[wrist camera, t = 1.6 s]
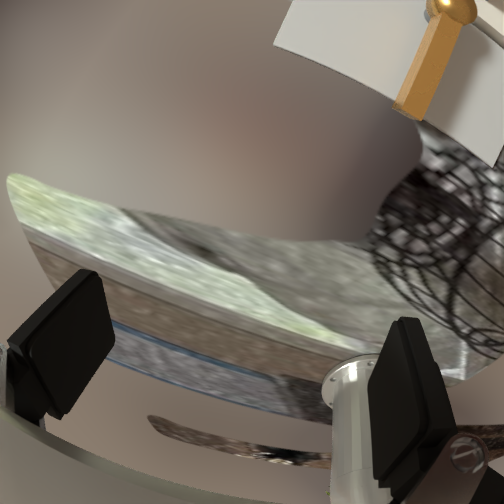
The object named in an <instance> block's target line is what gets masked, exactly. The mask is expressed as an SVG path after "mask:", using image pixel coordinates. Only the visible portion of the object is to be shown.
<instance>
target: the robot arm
mask: <svg viewBox="0 0 504 504" xmlns="http://www.w3.org/2000/svg"><path fill="white" fill-rule="evenodd" d="M7 342H8V344H9V346H10V348H9V349H8V350H7V349H6V347H5V346H4V345H3V344H2V343H0V504H280V503H272V502H264V501H257V500H250V499H244V498H239V497H234V496H229V495H223V494H218V493H214V492H209V491H205V490H201V489H196V488H192V487H189V486H185V485H181V484H178V483H174V482H171V481H167V480H164V479H161V478H157V477H154V476H151V475H148V474H145V473H142V472H139V471H136V470H133V469H130V468H128V467H125V466H123V465H120V464H117V463H115V462H112V461H110V460H107V459H105V458H102V457H100V456H97V455H95V454H93V453H91V452H88V451H86V450H84V449H82V448H79V447H77V446H75V445H73V444H71V443H69V442H67V441H65V440H63V439H61V438H59V437H57V436H55V435H53V434H51V433H49V432H47V431H46V428H45V421H44V415H45V413H46V412H47V413H48V414H49V415H50V416H53V417H54V418H56V419H58V420H61V419H62V417H63V416H64V414H68V413H69V412H70V410H71V408H72V407H73V406H74V404H75V402H76V401H77V399H78V398H79V396H80V395H81V393H82V392H83V390H84V389H85V387H86V386H87V384H88V383H89V381H90V380H91V378H92V377H93V375H94V374H95V372H96V371H97V369H98V368H99V366H100V365H101V364H102V362H103V361H104V359H105V358H106V356H107V355H108V353H109V352H110V350H111V349H112V348H113V346H114V343H115V334H114V330H113V326H112V322H111V318H110V314H109V310H108V306H107V301H106V297H105V292H104V288H103V283H102V279H101V278H100V277H99V276H98V274H97V272H95V271H91V270H86V269H80V270H78V271H77V272H76V273H75V274H74V275H73V276H72V277H71V278H70V279H68V280H67V281H66V282H65V283H64V284H63V285H62V286H61V287H60V288H59V289H58V290H57V291H56V292H55V293H53V295H51V296H50V297H49V298H48V299H47V300H46V301H45V302H44V303H43V304H42V305H41V306H40V307H39V308H38V309H37V310H36V311H35V312H34V313H33V314H32V315H31V316H30V317H29V318H28V319H27V320H26V321H25V322H24V323H23V324H22V325H21V326H20V327H19V328H18V329H17V330H16V331H15V332H14V333H13V334H12V335H11V336H10V338H9V339H8V340H7ZM322 397H323V399H324V402H325V403H326V404H327V405H328V406H329V407H330V408H332V409H333V436H332V437H333V438H332V439H333V440H332V466H331V485H330V500H331V504H504V477H503V476H502V475H500V474H499V473H497V472H496V471H495V470H493V469H492V468H490V467H489V466H488V462H489V452H488V449H487V446H486V445H485V443H484V442H483V441H482V440H481V439H480V438H479V437H478V436H476V435H473V434H471V433H459V434H458V431H457V427H456V423H455V419H454V416H453V412H452V408H451V405H450V401H449V398H448V394H447V391H446V388H445V384H444V381H443V378H442V375H441V372H440V369H439V366H438V364H437V363H436V362H435V361H434V359H433V356H432V353H431V350H430V347H429V344H428V341H427V339H426V336H425V333H424V330H423V328H422V325H421V322H420V320H419V319H418V318H412V317H400V318H399V320H398V321H394V322H393V323H392V325H391V328H390V330H389V333H388V335H387V338H386V340H385V343H384V345H383V348H382V350H381V353H380V355H377V354H371V355H363V356H358V357H354V358H351V359H349V360H346V361H344V362H342V363H340V364H338V365H337V366H336V367H334V368H333V369H332V370H331V371H330V372H329V373H328V374H327V375H326V377H325V378H324V380H323V384H322Z"/></svg>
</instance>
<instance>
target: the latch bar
mask: <svg viewBox="0 0 504 504" xmlns="http://www.w3.org/2000/svg"><path fill="white" fill-rule="evenodd" d="M426 10H427V13H428V15H429V17H430V18H431V19H430V21H429V24H428V26H427V29H426V31H425V33H424V36H423V38H422V41H421V43H420V45H419V48H418V50H417V52H416V55H415V57H414V59H413V62H412V64H411V66H410V68H409V71H408V73H407V75H406V77H405V79H404V82H403V84H402V86H401V88H400V90H399V93H398V95H397V97H396V99H395V101H394V104H393V106H392V108H393V109H395V110H396V111H398V112H400V113H401V114H403V115H405V116H407V117H408V118H410V119H414V120H418V121H422V119H423V117H424V115H425V113H426V111H427V108H428V106H429V104H430V102H431V100H432V98H433V95H434V93H435V91H436V89H437V86H438V84H439V82H440V79H441V77H442V75H443V72H444V70H445V68H446V65H447V63H448V61H449V58H450V56H451V53H452V51H453V48H454V46H455V43H456V41H457V38H458V35H459V33H460V30H461V27H462V26H465V25H467V24H470V23H472V22H474V21H475V19H476V18H477V13H478V11H477V6H476V3H475V1H474V0H427V1H426Z"/></svg>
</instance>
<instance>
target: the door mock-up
mask: <svg viewBox="0 0 504 504" xmlns="http://www.w3.org/2000/svg"><path fill="white" fill-rule="evenodd" d="M426 1H427V0H293V2H292V4H291V7H290V9H289V11H288V13H287V15H286V17H285V19H284V22H283V24H282V26H281V28H280V30H279V32H278V35H277V37H276V39H275V41H274V43H273V46H274V47H277V48H280V49H282V50H285V51H288V52H290V53H293V54H296V55H298V56H300V57H303V58H305V59H308V60H310V61H313V62H315V63H317V64H320V65H322V66H324V67H326V68H329V69H331V70H333V71H335V72H337V73H339V74H342V75H344V76H346V77H348V78H350V79H352V80H354V81H356V82H358V83H360V84H362V85H364V86H366V87H368V88H370V89H372V90H374V91H375V92H377V93H379V94H381V95H383V96H384V97H387V98H388V99H390V100H392V101H393V102H394V101H395V99H396V97H397V95H398V93H399V90H400V88H401V86H402V84H403V82H404V79H405V77H406V75H407V73H408V71H409V68H410V66H411V64H412V62H413V59H414V57H415V55H416V52H417V50H418V48H419V45H420V43H421V41H422V38H423V36H424V33H425V31H426V29H427V26H428V24H429V21H430V19H431V18H430V17H429V15H428V13H427V10H426ZM474 1H475V3H476V6H477V11H478V13H477V18H476V19H475V21H474V22H472V24H473V25H472V24H471V23H470V24H467V25H465V26H462V27H461V30H460V33H459V35H458V38H457V41H456V43H455V46H454V48H453V51H452V53H451V56H450V58H449V61H448V63H447V65H446V68H445V70H444V72H443V75H442V77H441V79H440V82H439V84H438V86H437V89H436V91H435V93H434V95H433V98H432V100H431V102H430V104H429V106H428V108H427V111H426V113H425V115H424V117H423V120H425V121H426V122H428V123H430V124H431V125H433V126H434V127H436V128H437V129H439V130H440V131H442V132H443V133H445V134H446V135H447V136H449V137H450V138H452V139H453V140H455V141H456V142H457V143H459V144H460V145H462V146H463V147H464V148H466V149H467V150H468V151H470V152H471V153H472V154H474V155H475V156H476V157H478V158H479V159H480V160H481V161H483V162H484V163H485V164H486V165H488V166H490V167H492V168H493V166H494V164H495V162H496V160H497V157H498V155H499V153H500V151H501V149H502V147H503V145H504V0H474ZM474 25H475V26H476V27H477V28H476V27H475V26H474ZM479 29H480V30H481V31H480V30H479ZM483 32H484V33H485V34H484V33H483ZM488 36H489V37H490V38H489V37H488ZM493 40H494V41H495V42H496V43H495V42H494V41H493ZM499 45H500V46H501V47H502V48H503V49H502V48H501V47H500V46H499Z"/></svg>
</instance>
